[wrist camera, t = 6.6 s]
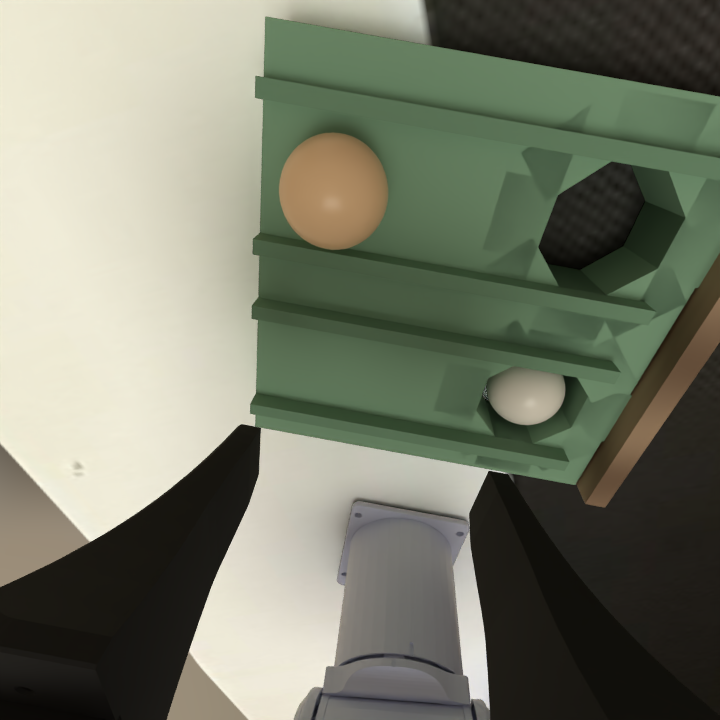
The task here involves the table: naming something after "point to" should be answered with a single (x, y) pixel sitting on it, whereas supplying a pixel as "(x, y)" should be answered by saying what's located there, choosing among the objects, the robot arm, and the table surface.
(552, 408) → the ball white
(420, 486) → the table surface
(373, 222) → the ball orange
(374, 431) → the green egg tray
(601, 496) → the backstop
